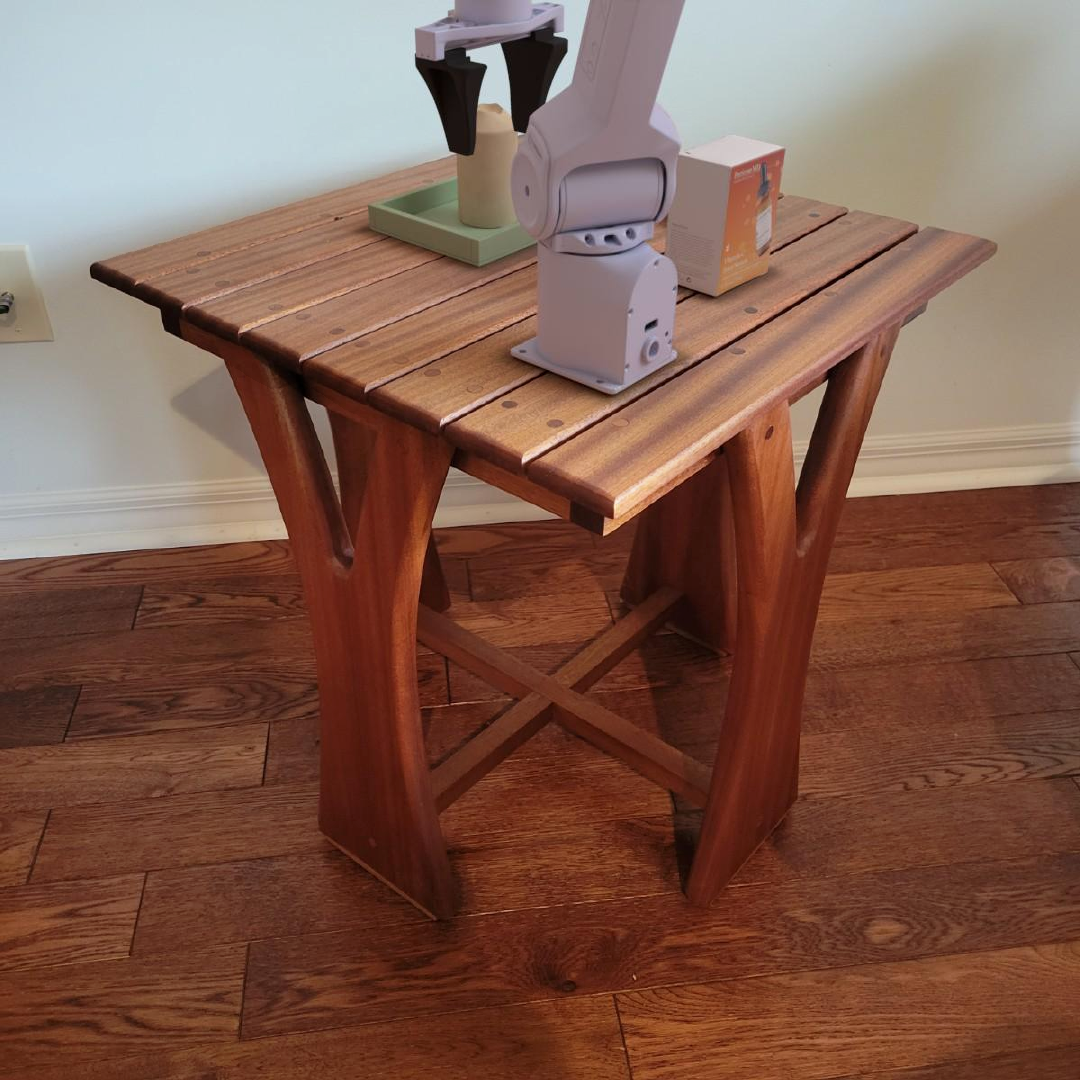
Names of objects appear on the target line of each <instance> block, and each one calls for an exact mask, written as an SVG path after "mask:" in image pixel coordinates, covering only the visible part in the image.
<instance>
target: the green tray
mask: <svg viewBox="0 0 1080 1080" xmlns="http://www.w3.org/2000/svg"><path fill="white" fill-rule="evenodd" d="M367 211H368V212H367V214H368V224H369V226H368V227H369V230H372V231H374V232H377V233H379V234H383V235H385V236H388V237H390V238H394V239H397V240H399V241H403V242H405V243H408V244H412V245H414V246H417V247H420V248H422V249H426V250H429V251H432V252H435V253H438V254H440V255H443V256H447V257H449V258H452V259H455V260H458V261H460V262H463V263H467V264H469V265H472V266H475V267H477V268H480V267H483V266H484V265H487V264H489V263H492V262H495V261H497V260H500V259H502V258H504V257H506V256H509V255H511V254H513V253H516V252H519V251H521V250H523V249H525V248H528V247H530V246H533V245H535V244H538V240H536V239H533V238H532V237H531V236H530V235H529V234H528V233H527V231H526V230H524V228H523V227H522V226H521V224H520V222H519V220H518V218H517V220H516V221H515V222H514V223H511V224H509V225H506V226H503V227H497V228H480V227H473V226H469V225H466V224H464V223H463V222H461V221H460V219H459V211H458V181H457V174H455V175H452V176H449V177H447V178H443V179H441V180H437V181H434V182H431V183H428V184H425V185H422V186H419V187H416V188H413V189H410V190H407V191H404V192H401V193H398V194H395V195H392V196H389V197H387V198H383V199H380V200H377V201H374V202H372V203H368V204H367Z"/></svg>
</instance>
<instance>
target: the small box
mask: <svg viewBox="0 0 1080 1080" xmlns="http://www.w3.org/2000/svg"><path fill="white" fill-rule="evenodd" d="M785 155H786V147H784V146H782V145H778V144H773V143H769V142H765V141H761V140H757V139H752V138H748V137H744V136H740V135H736V134H731V133H729V134H726V135H724V136H722V137H720V138H717V139H715V140H712V141H709V142H706V143H703V144H700V145H698V146H695V147H691V148H688V149H685V150H680V151H679V154H678V158H677V165H676V189H675V195H674V199H673V202H672V204H671V206H670V209H669V211H668V213H667V217H666V218H667V219H666V231H665V232H666V233H665V243H664V255H663V256H665V257H667V258H669V259H670V260H672V262H673V263H674V265H675V267H676V271H677V276H678V285H679V286H681V287H685V288H687V289H691V290H694V291H697V292H700V293H703V294H706V295H709V296H712V297H718V296H720V295H723V294H724V293H725V292H728V291H729V290H732V289H733V288H736V287H737V286H740V285H742V284H744V283H746V282H749V281H751V280H753V279H756V278H757V277H760V276H763V275H765V274H767V273H768V271H769V265H770V258H771V251H772V243H773V239H774V238H773V237H774V230H775V224H776V217H777V209H778V201H779V196H780V190H781V182H782V177H783V176H782V175H783V169H784V162H785Z"/></svg>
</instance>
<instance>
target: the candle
mask: <svg viewBox="0 0 1080 1080" xmlns="http://www.w3.org/2000/svg"><path fill="white" fill-rule="evenodd" d="M518 148H519V132H516V131H514V129H513V124H512V118H511V114H510V113H509V112H507V111H506V110H505V109H504V108H503V107H502V106H501V105H500V104H499V103H496V102H494V103H493V102H492V103H478V108H477V128H476V145H475V150H474V155H470V156H464V155H460V154H457V153H456V175H457V181H458V211H459V219H460V221H461V222H463V223H464V224H466V225H469V226H473V227H480V228H497V227H503V226H506V225H509V224H511V223H514V222H515V221H516V220H517V216H516V213H515V210H514V206H513V201H512V195H511V184H510V175H511V166H512V161H513V158H514V155H515V154H516V152H517V150H518Z"/></svg>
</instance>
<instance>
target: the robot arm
mask: <svg viewBox="0 0 1080 1080" xmlns="http://www.w3.org/2000/svg"><path fill="white" fill-rule="evenodd" d="M532 2H533V1H532V0H454V8H453V9H449V10H447V16H445V17H443V18H441V19H439V20H437V21H434V22H432V23H430V24H427V25H423V26H419V27H415V28H414V43H415V44H414V45H415V53H414V66H415V69H416V70H417V71H418V73H419V75H420V76H421V78H422V80H423V81H424V84H425V85H426V87H427V90H428V91H429V93H430V95H431V98H432V100H433V102H434V104H435V107H436V110H437V113H438V116H439V119H440V121H441V126H442V129H443V132H444V136H445V140H446V143H447V144H446V145H447V147H448V151H449V152H450V153H453V154H456V155H457V154H460V155H464V156H470V155H474V150H475V145H476V128H477V108H478V105H479V100H480V95H481V89H482V85H483V81H484V78H485V75H486V73H487V70H488V65H487V64H485V63H482V62H478V61H472V60H471V56H470V55H467V52H469V51H472V50H476V49H481V48H486V47H490V46H495V45H498V44H500V47H501V50H502V55H503V58H504V62H505V66H506V71H507V76H508V85H509V97H510V113H511V114H510V115H511V118H512V124H513V129H514V131H516V132H518V133H520V134H524V137H523V140H522V142H520V145H518V150H517V152H516V154H515V155H514V158H513V161H512V166H511V175H510V184H511V195H512V201H513V206H514V210H515V213H516V216H517V218H518V220H519V222H520V224H521V226H522V227H523V228H524V230H526V231H527V233H528V234H529V235H530V236H531V237H532V238H533V239H536V240H538V243H537V260H536V261H537V262H536V263H537V265H536V266H537V273H536V279H537V280H536V335H535V336H534V337H532V338H529V339H527V340H525V341H523V342H521V343H519V344H517V345H515V346H513V347H512V348H510V355H511V356H512V357H514V358H516V359H519V360H521V361H524V362H525V363H526V362H527V363H529V364H531V365H534V366H537V367H539V368H542V369H543V370H547V371H549V372H552V373H554V374H557V375H559V376H561V377H565V378H567V379H569V380H572V381H575V382H577V383H580V384H582V385H585V386H587V387H590V388H592V389H595V390H597V391H600V392H602V393H605V394H607V395H616V394H619V393H620V392H622V391H624V390H626V389H627V388H629V387H630V386H632V385H633V384H635V383H637V382H639V381H640V380H642V379H644V378H645V377H647V376H649V375H651V374H653V373H654V372H656V371H657V370H659V369H661V368H662V367H664V366H666V365H667V364H669V363H671V362H673V361H675V360H676V359H678V352H677V350H675V349H673V342H674V332H675V321H676V320H675V319H676V309H677V300H678V299H677V298H678V289H679V288H678V287H679V286H678V276H677V271H676V267H675V265H674V263H673V262H672V260H670V259H669V258H667V257H665V256H664V255H663V254H661V253H660V252H658V251H657V250H655V249H653V247H652V246H651V245H649V243H648V242H647V240H652V239H653V238H654V231H655V225H656V224H658V223H660V222H662V221H663V220H665V217H666V216H668V211H669V209H670V206H671V204H672V202H673V199H674V195H675V189H676V165H677V158H678V154H679V151H681V148H682V142H681V139H680V135H679V133H678V129H677V128H676V124H675V123H674V121H673V119H672V117H671V116H670V115H669V113H668V112H667V110H666V109H665V108H664V107H663V106H662V105H661V104H660V103H659V102H658V101H657V97H658V94H659V90H660V88H661V84H662V80H663V78H664V74H665V71H666V67H667V65H668V64H667V63H668V61H669V57H670V54H671V50H672V47H673V44H674V41H675V37H676V34H677V31H678V27H679V24H680V20H681V17H682V13H683V11H684V7H685V3H686V0H589V2H588V7H587V12H586V15H585V20H584V26H583V29H582V35H581V38H580V43H579V48H578V53H577V55H576V56H577V57H576V61H575V65H574V70H573V75H572V79H571V83H570V84H569V85H568V86H567V87H565V88H564V89H563V90H561V91H560V92H559V93H557V94H556V95H555V96H553V97H552V98H551V99H549V100H548V101H547V99H548V97H549V96H548V95H549V92H550V89H551V86H552V84H553V82H554V81H553V80H554V79H555V76H556V74H557V72H558V70H559V67H560V66H561V64H562V62H563V60H564V59H565V57H566V56H567V53H568V52H569V50H568V49H569V48H568V47H569V39H568V38H566V37H562V36H557V35H555V34H558V33H562V32H564V31H565V5H564V4H559V3H554V2H548V1H543V2H538V3H532Z"/></svg>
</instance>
